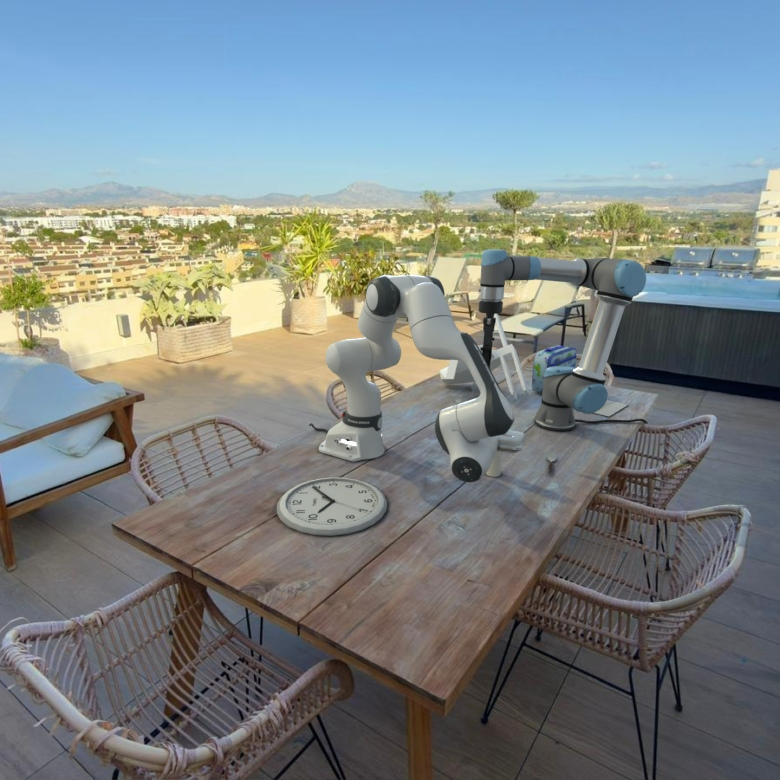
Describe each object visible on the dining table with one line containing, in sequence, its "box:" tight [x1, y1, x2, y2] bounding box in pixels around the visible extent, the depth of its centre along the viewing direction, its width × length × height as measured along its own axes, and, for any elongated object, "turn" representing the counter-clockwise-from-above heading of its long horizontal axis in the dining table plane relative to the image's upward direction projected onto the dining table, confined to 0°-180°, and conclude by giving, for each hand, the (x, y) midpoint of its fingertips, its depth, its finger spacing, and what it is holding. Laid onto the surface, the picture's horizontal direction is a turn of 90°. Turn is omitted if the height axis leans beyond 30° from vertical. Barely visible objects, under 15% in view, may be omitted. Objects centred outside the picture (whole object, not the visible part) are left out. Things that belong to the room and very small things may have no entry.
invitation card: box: [594, 399, 629, 418], centre depth 226 cm, size 21×1×15 cm
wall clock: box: [276, 476, 388, 537], centre depth 142 cm, size 30×2×30 cm
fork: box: [547, 449, 557, 475], centre depth 169 cm, size 3×16×2 cm, turn 160°
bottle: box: [485, 451, 503, 478], centre depth 160 cm, size 5×5×19 cm
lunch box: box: [531, 345, 577, 393], centre depth 245 cm, size 26×11×21 cm, turn 134°
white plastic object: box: [438, 314, 531, 400], centre depth 245 cm, size 37×45×31 cm
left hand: (490, 426), depth 145 cm, fingers open, 8 cm apart
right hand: (486, 365), depth 172 cm, fingers open, 13 cm apart
